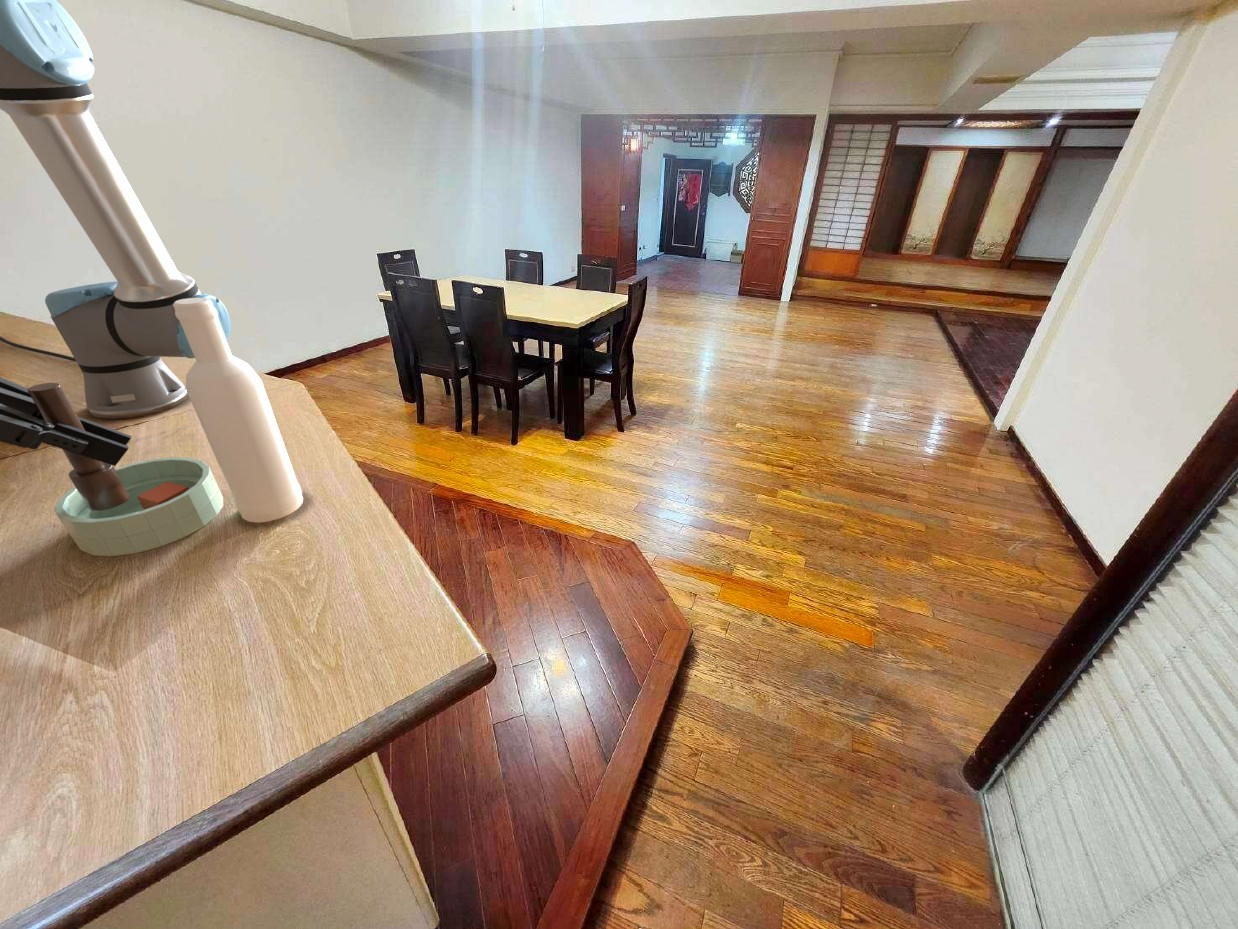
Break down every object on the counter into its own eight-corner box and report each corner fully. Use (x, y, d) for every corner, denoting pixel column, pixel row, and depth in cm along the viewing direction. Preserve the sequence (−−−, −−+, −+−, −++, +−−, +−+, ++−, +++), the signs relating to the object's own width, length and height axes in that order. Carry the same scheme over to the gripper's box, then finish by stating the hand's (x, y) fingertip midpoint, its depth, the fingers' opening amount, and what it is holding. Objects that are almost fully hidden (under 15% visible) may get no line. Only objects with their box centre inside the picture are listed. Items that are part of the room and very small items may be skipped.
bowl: (67, 525, 68) (43, 489, 65) (202, 479, 78) (187, 446, 75) (96, 577, 60) (70, 539, 57) (242, 518, 71) (227, 483, 67)
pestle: (84, 502, 64) (14, 386, 56) (125, 490, 67) (64, 377, 59) (92, 514, 62) (21, 396, 54) (133, 501, 65) (71, 386, 57)
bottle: (311, 510, 73) (239, 303, 57) (249, 533, 68) (152, 312, 52) (295, 488, 77) (225, 290, 62) (236, 507, 73) (143, 298, 57)
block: (149, 519, 68) (136, 496, 66) (179, 504, 72) (167, 481, 70) (170, 526, 68) (157, 502, 65) (199, 509, 71) (188, 486, 69)
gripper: (-180, 349, 51) (113, 448, 68) (-282, 401, 40) (96, 504, 57) (-136, 291, 51) (146, 405, 68) (-226, 328, 40) (135, 453, 57)
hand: (123, 450), depth 63 cm, fingers closed on pestle, 3 cm apart
